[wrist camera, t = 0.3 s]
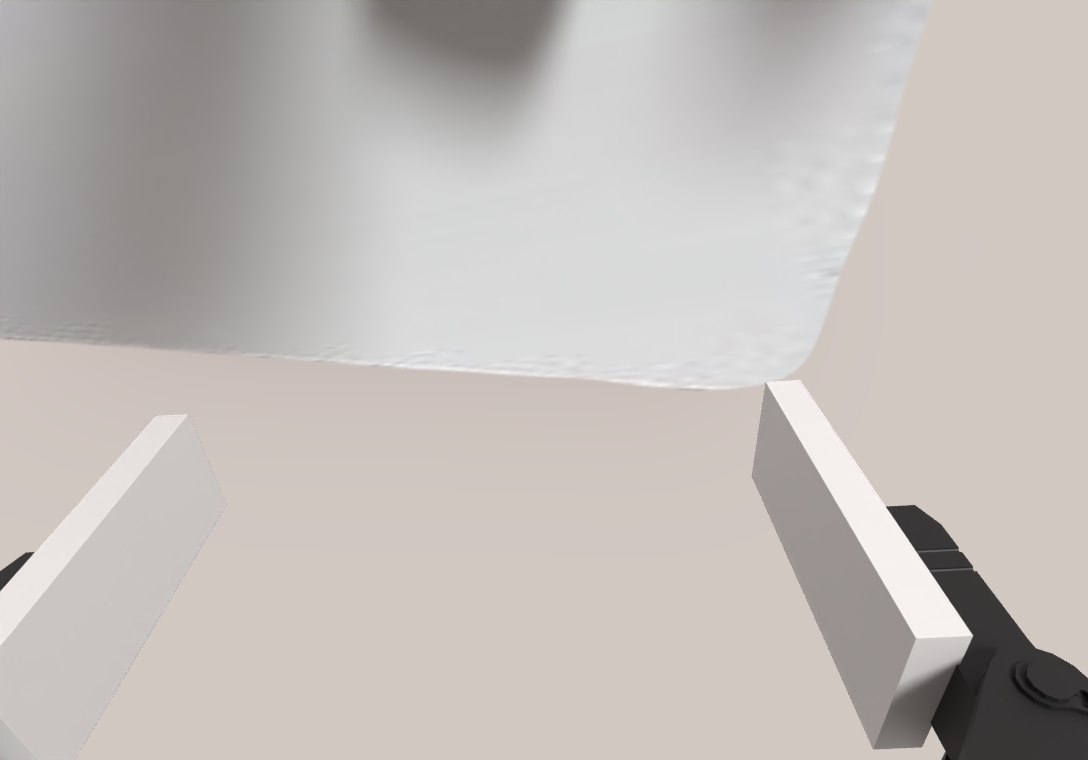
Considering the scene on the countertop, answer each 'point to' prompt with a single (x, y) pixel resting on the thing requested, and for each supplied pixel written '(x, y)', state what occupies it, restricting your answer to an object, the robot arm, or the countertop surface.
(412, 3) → the countertop surface
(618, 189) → the countertop surface
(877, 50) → the countertop surface
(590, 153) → the countertop surface
